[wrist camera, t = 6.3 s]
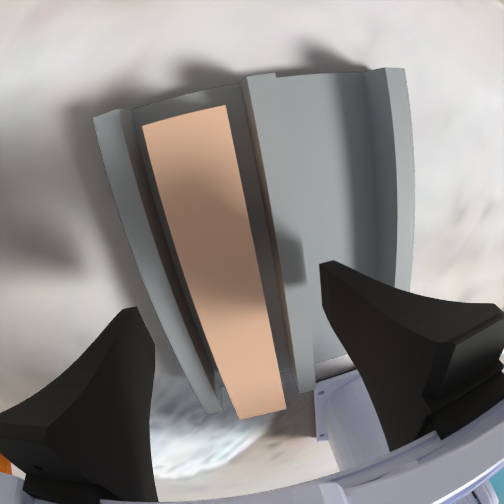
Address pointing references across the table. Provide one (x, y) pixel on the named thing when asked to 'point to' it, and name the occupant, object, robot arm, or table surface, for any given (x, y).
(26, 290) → the table surface
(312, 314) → the rack
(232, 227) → the clay strip
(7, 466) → the carrot
